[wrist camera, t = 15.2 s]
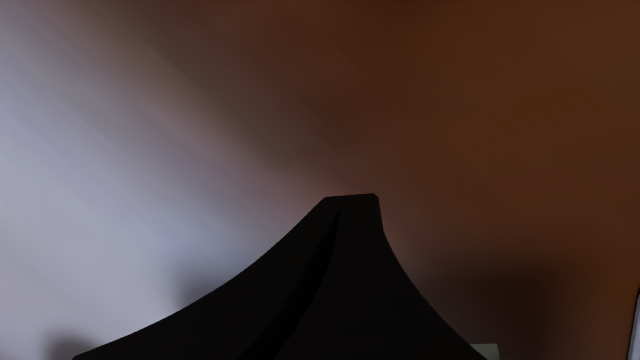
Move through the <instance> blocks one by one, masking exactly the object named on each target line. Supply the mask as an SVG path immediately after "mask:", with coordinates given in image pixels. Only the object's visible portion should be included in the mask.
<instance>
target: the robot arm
mask: <svg viewBox="0 0 640 360" xmlns="http://www.w3.org/2000/svg"><path fill="white" fill-rule="evenodd" d="M72 360H488V359H487V358H485V357H484V356H483V355H482V354H480V353H479V352H478V351H477V350H476V349H474V348H473V347H472V346H471V345H470V344H469V343H467V342H466V341H465V340H464V339H463V338H462V337H461V336H459V335H458V334H457V333H456V332H455V331H454V330H453V329H452V328H451V327H450V326H449V325H448V324H447V323H446V322H445V321H444V320H443V319H442V318H441V317H440V316H439V315H438V313H437V312H436V311H435V310H434V309H433V308H432V307H431V305H430V304H429V303H428V302H427V301H426V300H425V299H424V298H423V296H422V295H421V294H420V293H419V291H418V290H417V289H416V287H415V286H414V285H413V283H412V282H411V281H410V279H409V278H408V276H407V275H406V273H405V272H404V270H403V269H402V267H401V265H400V264H399V262H398V260H397V258H396V257H395V255H394V253H393V251H392V249H391V247H390V245H389V243H388V241H387V238H386V236H385V233H384V231H383V225H382V218H381V211H380V205H379V198H378V197H377V196H376V195H375V194H374V193H370V194H358V195H345V196H333V197H325V198H323V199H322V200H321V201H320V202H319V203H318V204H317V205H316V206H315V207H314V208H313V209H312V210H311V211H310V212H309V213H308V214H307V215H306V216H305V217H304V218H303V219H302V220H301V221H300V222H299V223H298V224H297V225H296V226H295V227H294V228H293V229H292V230H291V231H289V232H288V233H287V234H286V235H285V236H284V237H283V238H282V239H281V240H280V241H279V242H277V243H276V244H275V245H274V246H273V247H272V248H271V249H269V250H268V251H267V252H266V253H265V254H264V255H262V256H261V257H260V258H259V259H258V260H257V261H255V262H254V263H253V264H251V265H250V266H249V267H248V268H246V269H245V270H244V271H242V272H241V273H239V274H238V275H236V276H235V277H234V278H232V279H231V280H229V281H228V282H226V283H225V284H223V285H222V286H220V287H219V288H217V289H215V290H214V291H212V292H210V293H209V294H207V295H205V296H204V297H202V298H200V299H199V300H197V301H195V302H194V303H192V304H190V305H189V306H187V307H185V308H183V309H181V310H180V311H178V312H176V313H174V314H172V315H170V316H168V317H166V318H164V319H162V320H160V321H158V322H156V323H154V324H151V325H149V326H147V327H145V328H143V329H141V330H139V331H136V332H134V333H132V334H130V335H127V336H125V337H122V338H120V339H117V340H115V341H112V342H110V343H107V344H105V345H102V346H100V347H97V348H95V349H92V350H90V351H87V352H85V353H82V354H79V355H76V356H75V357H74V358H73V359H72ZM628 360H640V295H639V297H638V301H637V307H636V313H635V319H634V325H633V331H632V337H631V343H630V349H629V355H628Z"/></svg>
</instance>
